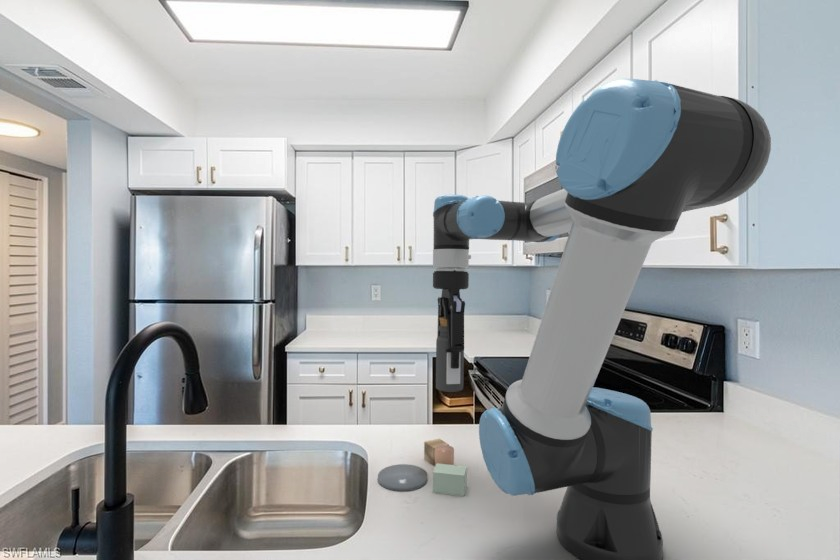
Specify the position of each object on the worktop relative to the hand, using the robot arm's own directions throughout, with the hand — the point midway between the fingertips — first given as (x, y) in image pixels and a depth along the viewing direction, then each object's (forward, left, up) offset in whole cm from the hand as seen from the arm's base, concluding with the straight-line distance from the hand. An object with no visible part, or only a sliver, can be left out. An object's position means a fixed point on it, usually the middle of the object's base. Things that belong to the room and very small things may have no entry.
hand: (449, 379), depth 92 cm
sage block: (-8, +2, -19) cm, 21 cm away
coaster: (-2, +10, -19) cm, 22 cm away
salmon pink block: (-1, +1, -19) cm, 19 cm away
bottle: (0, 0, -2) cm, 2 cm away
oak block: (+5, +1, -19) cm, 20 cm away
